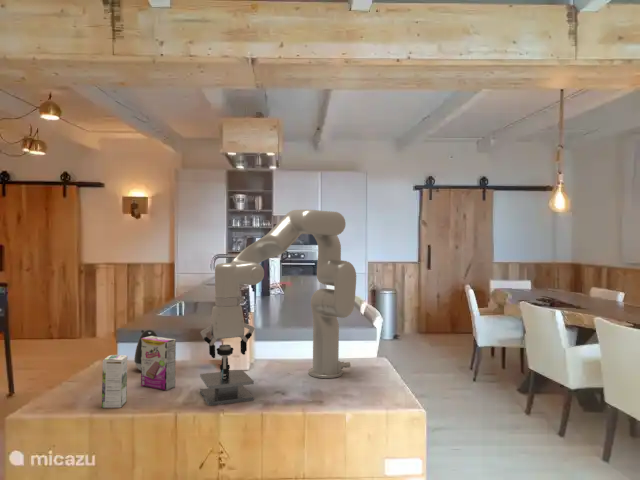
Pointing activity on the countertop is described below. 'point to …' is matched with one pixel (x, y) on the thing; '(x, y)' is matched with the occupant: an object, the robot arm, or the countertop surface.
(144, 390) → the countertop surface
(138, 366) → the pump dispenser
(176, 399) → the countertop surface
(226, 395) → the stand
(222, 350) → the push button
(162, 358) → the candy bar box
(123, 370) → the syrup box
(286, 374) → the countertop surface
